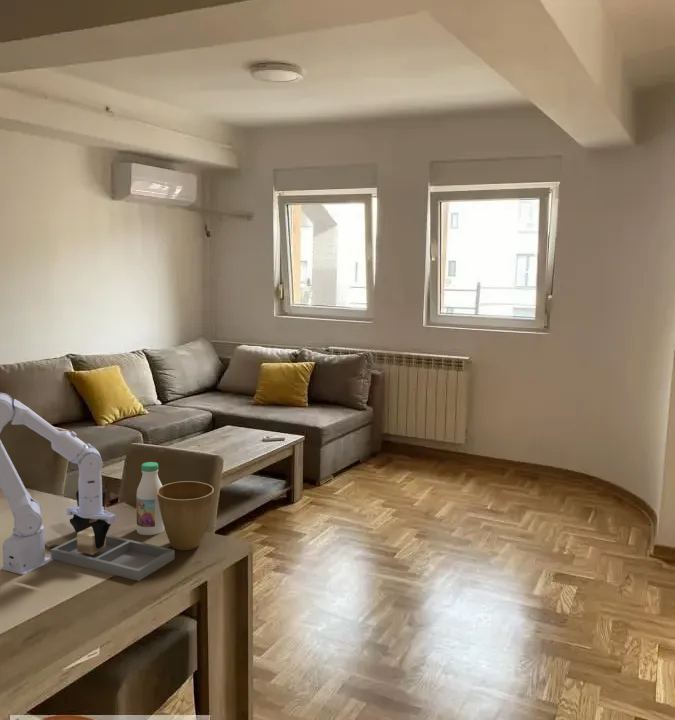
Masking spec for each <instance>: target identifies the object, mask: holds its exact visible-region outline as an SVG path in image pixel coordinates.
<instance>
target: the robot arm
mask: <svg viewBox="0 0 675 720" xmlns="http://www.w3.org/2000/svg"><path fill="white" fill-rule="evenodd" d="M9 422H11V423H10V424H11V425H13V426H14V425H15V426H16V425H24V426H26V427H27V428H29V429H30V430H32V431H34V432H35V433H37V435H40V436H41V437H43V438H45V439H46V440H48V441H49V442H50V443H51V444H50V446H51V449H52V450H53V451H54V452H56V453H57V454H59V456H61V457H63V458H65V459H66V460H67V461H69V462H70V463H72V464H76V465H77V467H78V471H79V472H78V481H77V482H78V484H77V485H78V488H79V506H77V505H70V506H68V507H66V515H67V516H72V515H73V517H72V518H70V519H69V523H70V525H72V528H73V529H74V531H75V535H77V533H78V532H80V531H82V530H85V529H87V528H88V526H89V521H90V519H94V520H97V522H95V523H93V524H91V526H92V528H93V531H94V535H95V544H96V548H100V547H102V546H104V542H105V538H106V535H108V532H109V529H110V527H111V526H112V524H114V523H116V520H117V518H116V514H114V513H112V512H109V511H107V510H104V507H102V485H103V477H102V468H103V466H104V462H103V459H102V457H101V454H100V451H98V449H96V447H95V446H92V444H91V443H89V442H88V443H85V442H84V441H83V440H81V439H80V438H79V437H77V433H76V432H75V431H73V430H71V432H70V431H69V430H59V429H57V428H56V427H54V426H53V425H52V424H51V423H49V422H48V421H47V420H45V419H44V418H43V417H41V416H40V415H38V414H37V413H36V412H35V411H34V410H32V409H31V408H30V407H28V406H26V405H25V404H24V403H22V402H21V401H20V400H18V399H16V398H14V399H13V398H12V397H11V396H10V394H7V393H5V392H0V434H1V432H2V431H3V428H4V427H5V426H6V425H7V424H8V423H9ZM0 489H1V491H2V493H3V495H4V496H5V498H6V500H7V502H8V505H9V508H10V511H11V514H12V515H13V518H14V521H13V527H14V528H12V533H11V535H10V536H9V537H8V538H6V539H5V540H4V541H3V542H2V564H3V565H2V566H1V567H0V569H1V570H3V571H7V572H11V573H14V574H18V575H22V576H23V575H26V574H27V573H30V572H32V571H34V570H36V569H38V568H40V567H42V566H44V565H46V564H48V563H50V562H52V561H54V560H53V559H51V557H47V556H46V545H45V544H46V540H45V539H46V537H45V526H44V525H43V518H42V506H41V505H40V503H39V502H38V501H37V500H35V499H34V498H33V497H32V495H31V494H30V493H29V491H28V489H26V486H25V485H24V482H23V480H22V479H21V476H20V475H19V473H18V471H17V469H16V467H15V465H14V464H13V461H12V460H11V458H10V455H9V454H8V452H7V450H6V448H5V446H4V444H3V442H2V440H1V439H0Z"/></svg>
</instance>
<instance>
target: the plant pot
mask: <svg viewBox="0 0 675 720" xmlns="http://www.w3.org/2000/svg"><path fill="white" fill-rule="evenodd" d="M214 490H215V489H214V487H213V486H212V485H210V484H208V483H205V482H203V481H202V482H200V481H192V480H191V481H190V480H187V481H186V480H184V481H175V482H171V483H166V484H164V485H162V487H160V488H159V489H158V490H157V496H158V502H159V508H160V512H161V517H162V521H163V524H164V528H165V529H164V531H165V533H166V536H167V539H168V542H169V543H170V546H171V549H173V550H177V551H187V550H188V551H189V550H193V549H196V548H198V547H199V546H200V545H201V542H202V540H203V537H204V535H205V531H206V528H207V524H208V522H209V517H210V513H211V509H212V503H213V498H214V492H215V491H214Z"/></svg>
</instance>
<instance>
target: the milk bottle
mask: <svg viewBox="0 0 675 720" xmlns="http://www.w3.org/2000/svg"><path fill="white" fill-rule="evenodd" d="M140 468H141V469H140V470H141V473H142V476H141V479H140V482H139V484H138V486H137V488H136V489H137V490H136V498H135V499H136V502H135V503H136V505H135V506H136V509H135V510H136V514H135V515H136V532H137V534H139V535H142V536H155V535H158V534H161V533H164V531H165V528H164V524H163V521H162V517H161V512H160V508H159V502H158V496H157V490H158V489H159V488H160V487H162V486H163V484H162V482H161V480H160V478H159V474H158V472H159V463H158V462H156V461H155V462H154V461H148V462H144V463H142V464H141V466H140Z"/></svg>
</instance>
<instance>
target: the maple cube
mask: <svg viewBox="0 0 675 720" xmlns="http://www.w3.org/2000/svg"><path fill="white" fill-rule="evenodd" d="M76 537H77V551H78V552H82V553H86V554H90V555H94V554H96V553H98V552H99V551H101V550H103V549H105V548H106V538H105V542H104V546H102V547H100V548H96V544H95V535H94V531H93V528H92V527H89V528H87V529H85V530H82V531H80V532H78V533H77V534H76Z"/></svg>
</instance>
